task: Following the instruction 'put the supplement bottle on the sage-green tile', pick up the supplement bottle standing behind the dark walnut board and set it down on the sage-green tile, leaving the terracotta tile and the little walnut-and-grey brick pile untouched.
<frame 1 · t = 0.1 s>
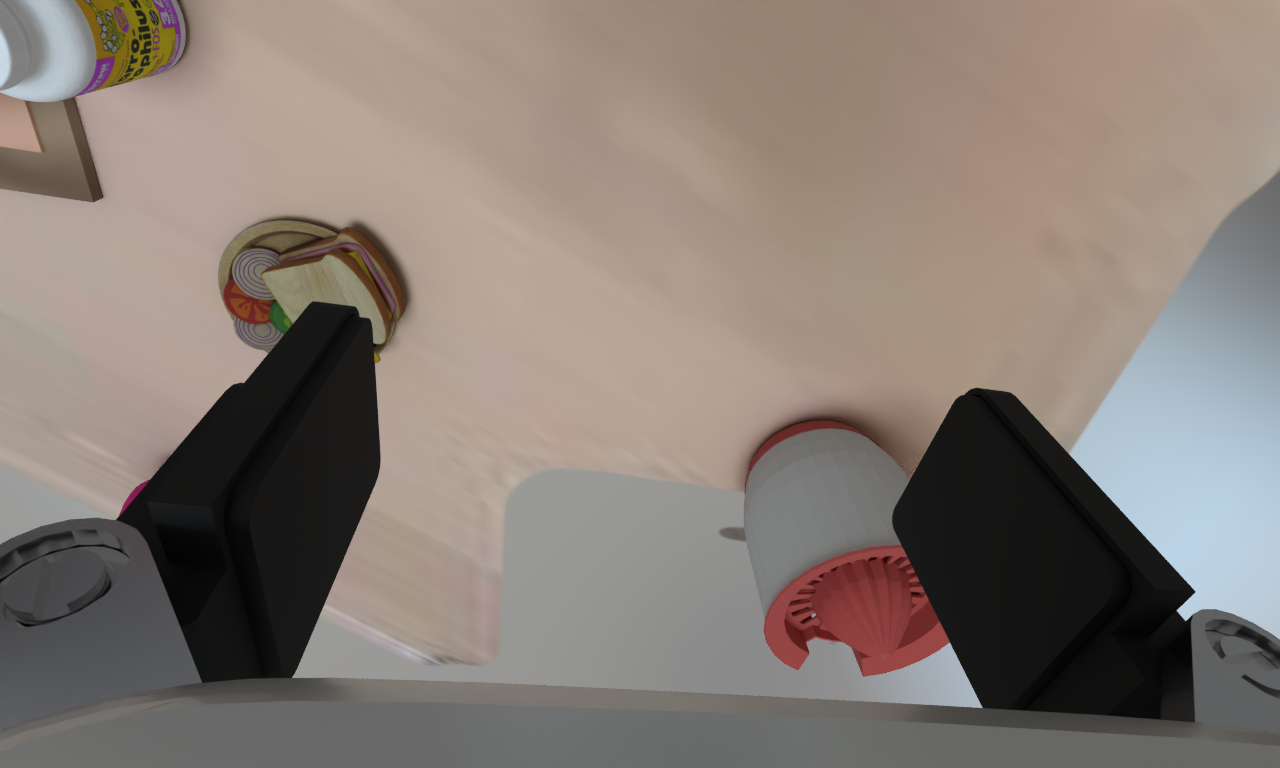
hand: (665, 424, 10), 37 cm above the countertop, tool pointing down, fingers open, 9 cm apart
toy sandwich meal: (320, 287, 48), on the countertop
supplement bottle: (131, 11, 38), on the countertop
citrus juicer: (804, 470, 61), on the countertop
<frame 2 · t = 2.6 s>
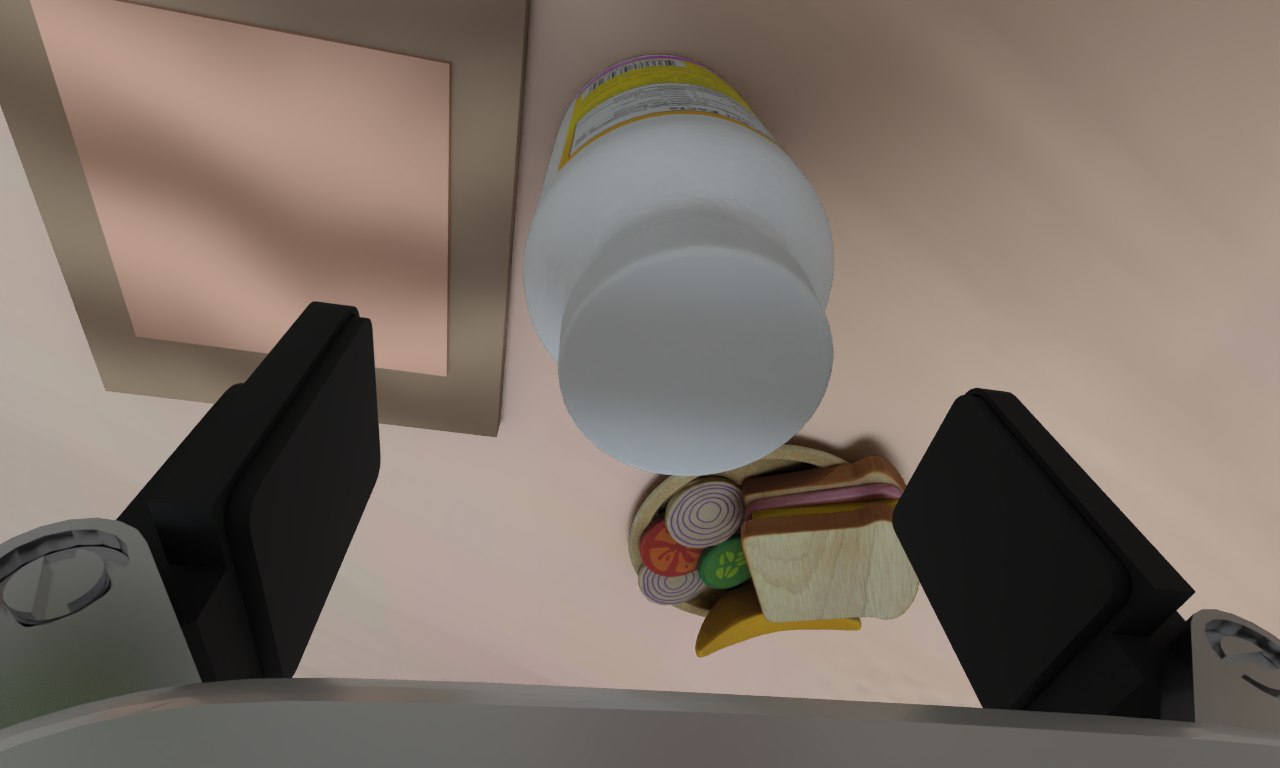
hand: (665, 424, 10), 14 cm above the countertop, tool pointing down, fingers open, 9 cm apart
toy sandwich meal: (761, 514, 32), on the countertop
supplement bottle: (656, 158, 21), on the countertop
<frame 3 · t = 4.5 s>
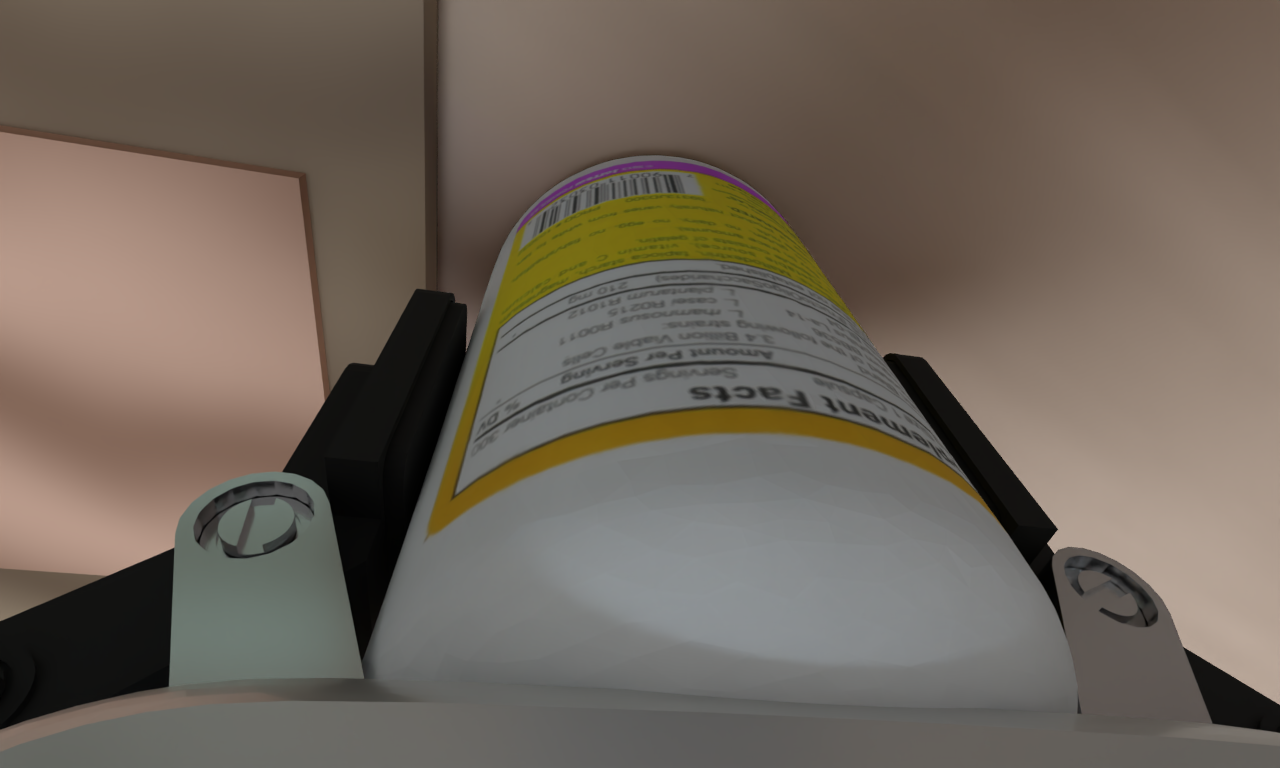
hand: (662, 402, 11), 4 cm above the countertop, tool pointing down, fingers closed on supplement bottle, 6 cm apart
supplement bottle: (649, 297, 14), on the countertop, touching gripper
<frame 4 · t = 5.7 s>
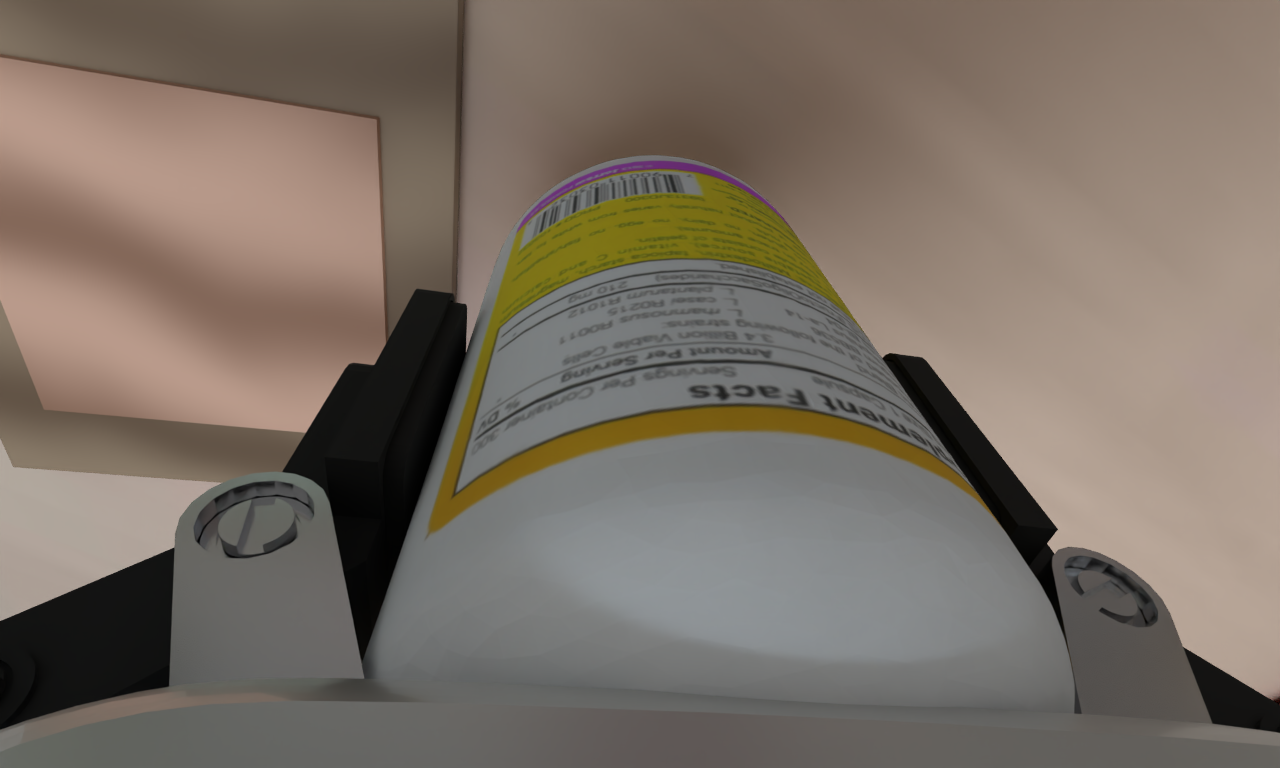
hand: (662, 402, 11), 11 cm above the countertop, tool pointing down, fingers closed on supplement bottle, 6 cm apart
supplement bottle: (648, 297, 14), point 7 cm above the countertop, touching gripper
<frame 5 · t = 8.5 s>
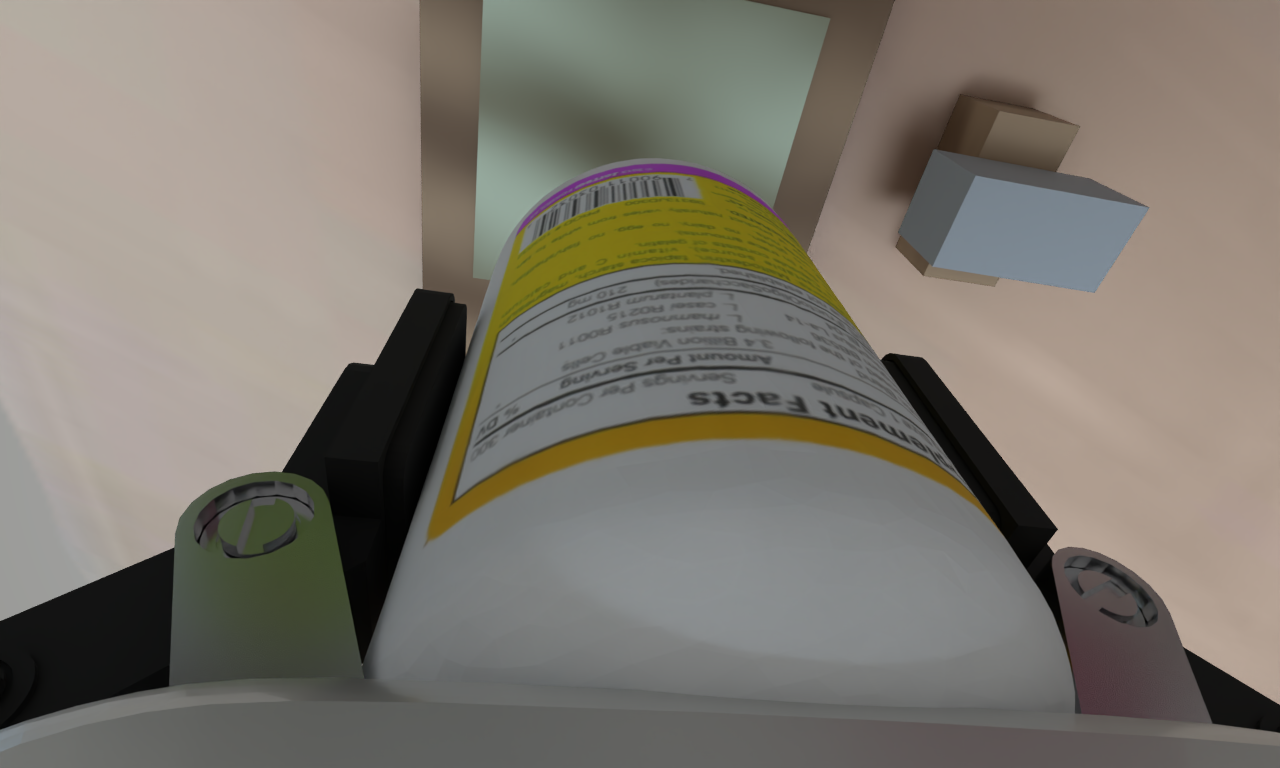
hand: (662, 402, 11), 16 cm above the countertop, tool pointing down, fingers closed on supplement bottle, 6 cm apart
tile board: (603, 324, 28), on the countertop
brick walnut: (958, 180, 25), on the countertop, touching brick grey
supplement bottle: (648, 299, 14), point 12 cm above the countertop, touching gripper
brick grey: (992, 205, 23), point 3 cm above the countertop, touching brick walnut
when the fingers open (6 cm above the countertop, at t = 11.0 s): supplement bottle stays where it is, point 2 cm above the countertop.
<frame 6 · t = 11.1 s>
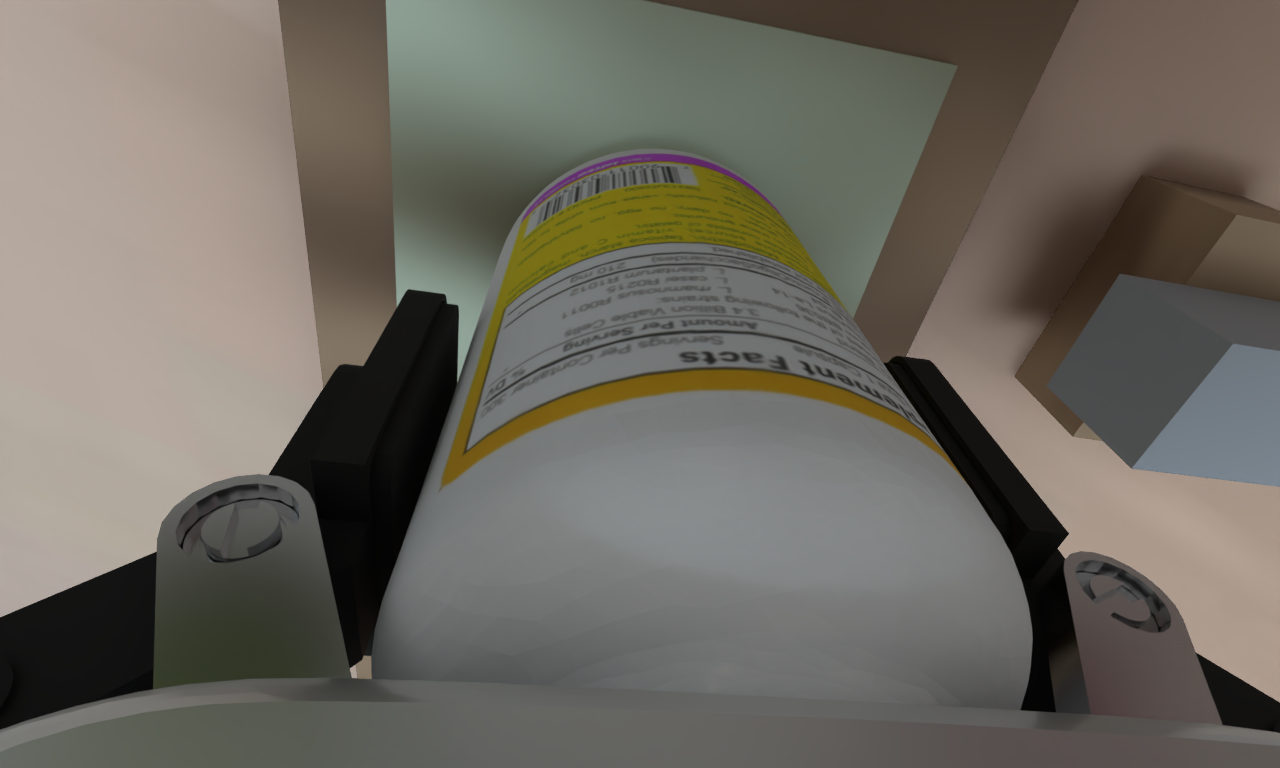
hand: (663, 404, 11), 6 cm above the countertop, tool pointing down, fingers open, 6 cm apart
tile board: (594, 475, 20), on the countertop
brick walnut: (1115, 291, 18), on the countertop, touching brick grey
supplement bottle: (648, 286, 15), point 2 cm above the countertop
brick grey: (1191, 350, 15), point 3 cm above the countertop, touching brick walnut
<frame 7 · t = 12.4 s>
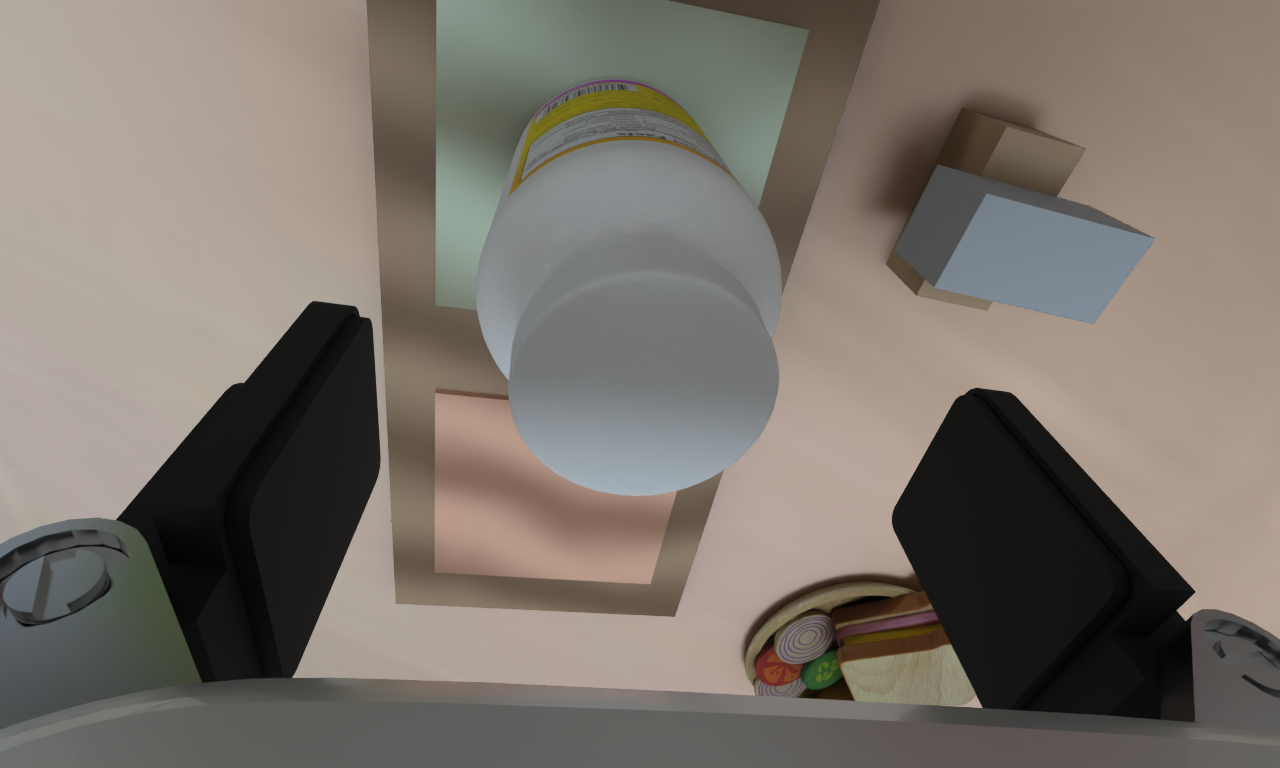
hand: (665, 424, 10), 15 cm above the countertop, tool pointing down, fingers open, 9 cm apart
tile board: (576, 349, 27), on the countertop
toy sandwich meal: (845, 626, 40), on the countertop
brick walnut: (954, 198, 24), on the countertop, touching brick grey
supplement bottle: (613, 179, 22), point 1 cm above the countertop, touching tile board
brick grey: (991, 228, 22), point 3 cm above the countertop, touching brick walnut
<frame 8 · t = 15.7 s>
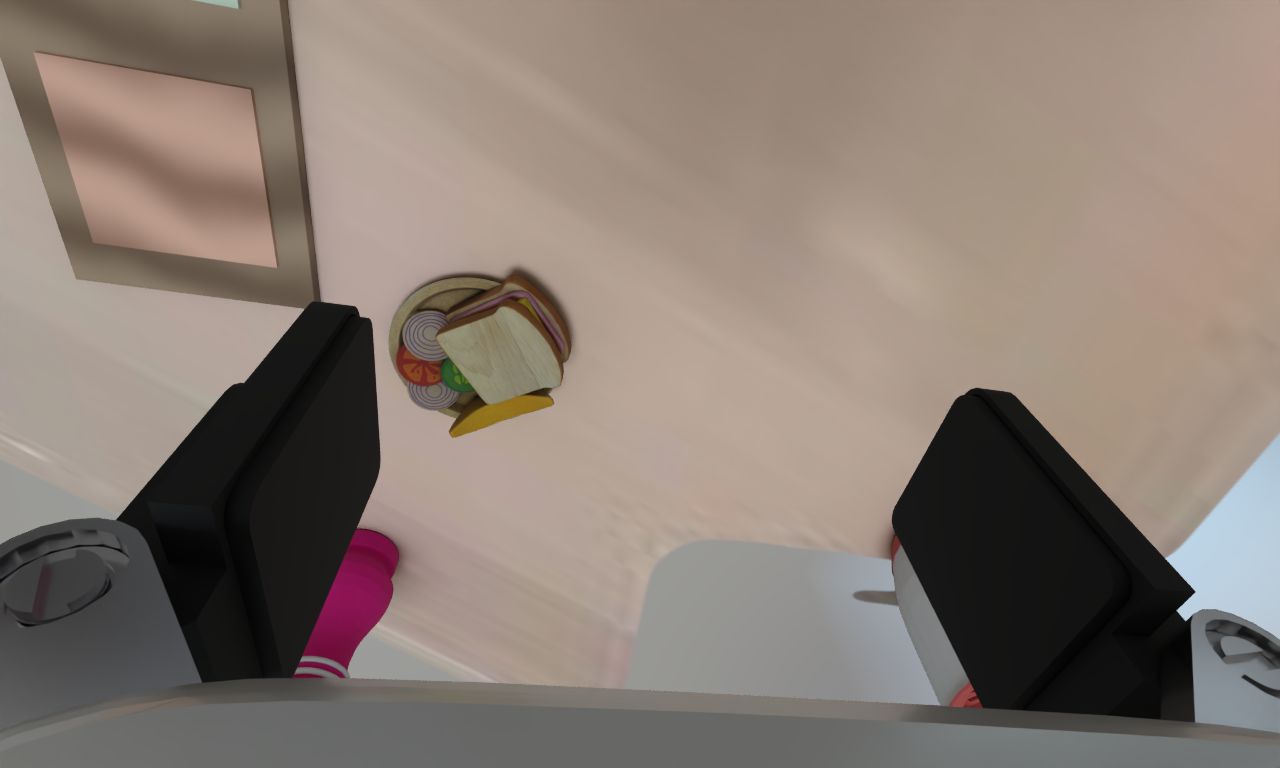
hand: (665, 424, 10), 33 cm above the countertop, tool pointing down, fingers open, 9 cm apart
tile board: (149, 28, 35), on the countertop
toy sandwich meal: (482, 339, 48), on the countertop
pepper mill: (365, 549, 60), on the countertop
citrus juicer: (944, 538, 63), on the countertop
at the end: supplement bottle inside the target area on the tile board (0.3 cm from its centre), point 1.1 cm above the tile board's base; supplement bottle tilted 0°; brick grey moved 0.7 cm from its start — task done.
